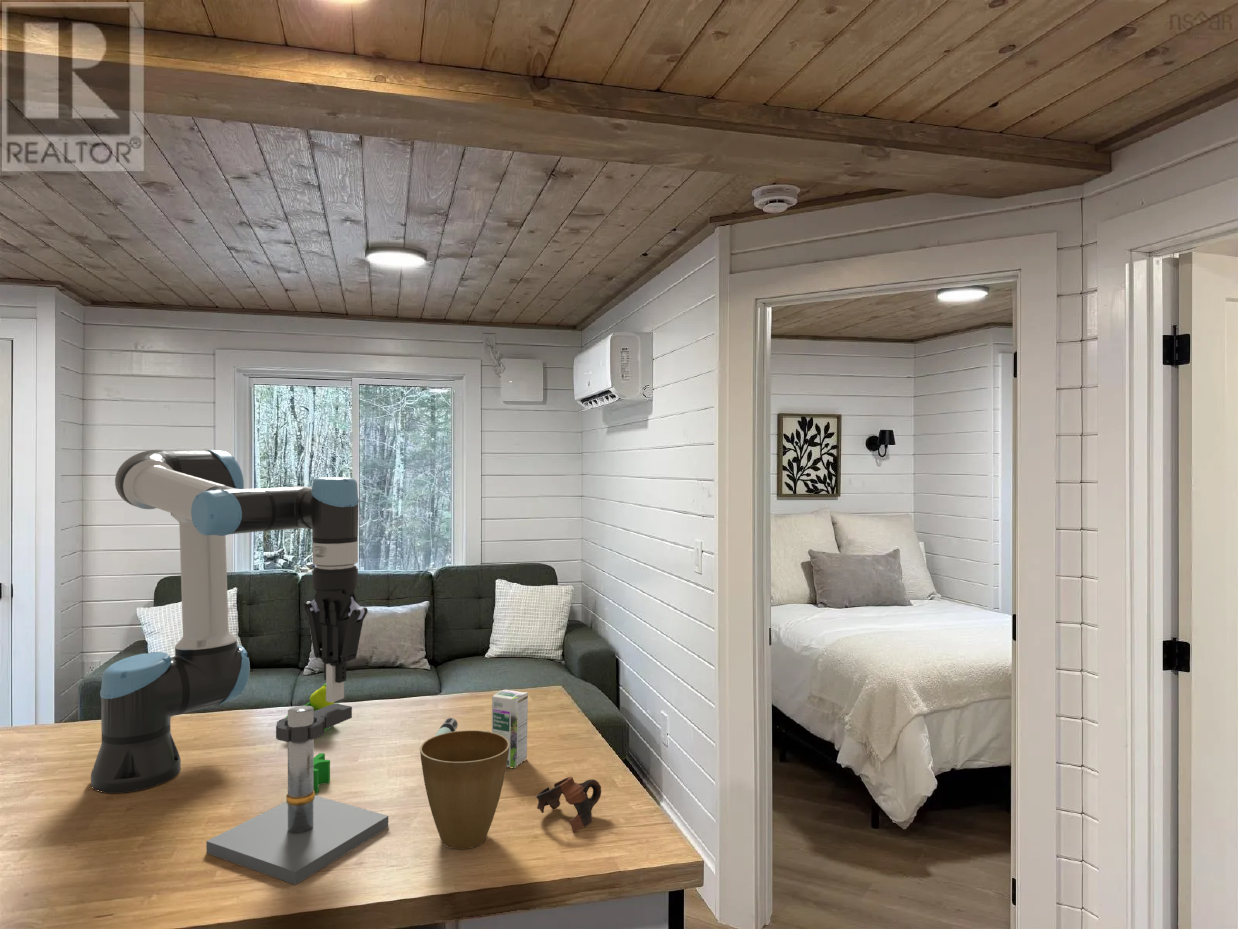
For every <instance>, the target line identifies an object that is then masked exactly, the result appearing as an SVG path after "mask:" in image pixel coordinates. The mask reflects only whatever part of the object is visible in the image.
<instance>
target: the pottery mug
mask: <svg viewBox="0 0 1238 929" xmlns="http://www.w3.org/2000/svg"><path fill="white" fill-rule="evenodd" d="M553 786H554V787H553V788H551V789H550V787H546V788H544V789H543V790H541V791H540V792H539V793H537V795H536V796H535V797H536V799H537V801H538V802H537V803H538V804H537V806H536V808H537V810H540V812H541V813H542V814H543V813H544V812H545V811H544V810H545V807H547V806H549V807H550V808H551V810H553V809H556V810H557V809H558V807H560V805H561V802H560V798H561V796H562V795H563V796H564V799H565V802H566V803H567V804H569V805H571V806H572V805H573V806H574V809H575V810H576V813H577V814H576V815H575V816H573V817H572V818H570V819H569V820H568V823H569V824H570V827H571V830H572V832H573V833H577V832H578V831H580V830H581V829H583V828H586V826H588V825H589V824H591V823H592V822H593V817H592V816H593V814H592V810H593V808H594V806H595V805H596V804H597V803H598V802H599V800H600V798H601V795H602V786H601V785H600V783H599V782H598V781H597V780H596V779H592V778H591V779H588V780H585V781H584V782H581V783H578V782H575V780H574V777H573V776H567V777H565V778H563V779H561V780H559V781H558V782H555V783H554V784H553ZM590 788H592V794H591V797H589V796H588V792H589V790H590Z"/></svg>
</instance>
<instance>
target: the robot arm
mask: <svg viewBox="0 0 1238 929" xmlns="http://www.w3.org/2000/svg"><path fill="white" fill-rule="evenodd" d="M114 483H115V484H114V486H115V489H116V491H117V492H116V493H117V494H118V496H120V498H121V499H122V500H123V501H124V502H126V503H127V504H129V505H131V506H133V507H136V508H138V509H141V510H142V509H143V510H155V509H157V510H158V509H159V510H161V511H164V512H167V513H169V514H170V516H172V518H173V519H175V521H177V522H178V523H179V526H178V527H179V528H178V529H179V552H180V581H181V582H180V583H181V585H180V586H181V588H180V590H181V615H182V616H181V617H182V619H181V620H182V621H181V622H182V638H181V639H180V640H179V641H177V643H175V645H174V653H175V654H174V656H172V657H171V656H170V654H169V653H167V652H163V651H153V652H149V653H139V654H136V655H132V656H128V657H125V658H122V659H120V660H117V661H115V662H114V663H112V664H111V665H109V666H108V667H107V668H105V670H104V671H103V673H102V676H101V687H100V690H99V694H100V704H101V705H100V708H101V710H100V712H101V713H100V715H101V716H100V717H101V718H100V719H101V725H100V726H101V727H100V728H101V730H100V731H101V742H100V743H101V744H100V747H99V750H98V752H97V755H96V758H95V762H94V764H93V768H92V769H91V770H92V771H91V773H90V787H91V788H92V787H93V788H94V789H95V790H94V789H93V788H92V789H93V790H94V791H96V790H99V791H102V792H101V793H104V792H106V793H107V794H121V793H123V794H124V793H130V792H137V791H142V790H146V789H151V788H153V787H156V786H158V785H161V784H165V783H166V782H168V781H171V780H172V779H174V778H175V777H176V776H178V775H179V773H180V772H181V767H182V766H181V761H182V760H181V756H180V752H179V751H178V748H177V746H176V742H175V740H174V737H173V735H172V732H171V731H172V730H171V729H172V728H171V718H172V717H176V716H178V715H182V714H183V715H184V714H186V713H190V712H191V713H192V712H194V711H198V710H202V709H206V708H210V707H218V706H220V705H223V704H225V703H228V702H231V701H234V700H236V699H237V698H238V697H240V696H241V695H242V694H243V692H244V691H245V689H246V687H247V685H248V682H249V680H250V679H249V678H250V672H251V667H250V666H251V665H250V658H249V656H248V652H247V650H246V649H245V647H244V646H243V645H241V644H238V643H237V642H238V638H237V637H236V636H234V634H232V633H231V632H230V630H229V601H228V600H229V599H228V572H227V570H228V569H227V545H226V544H227V542H226V540H227V539H226V536H230V535H237V534H244V533H245V534H247V533H248V534H249V533H255V532H257V533H259V532H270V531H282V530H292V529H294V530H295V529H306V530H311V531H312V533H311V534H312V536H311V537H312V564H313V565H314V566H315V567H313V568H312V570H311V573H312V574H311V576H312V579H311V582H312V583H311V584H312V585H311V586H312V589H314V590H315V593H314V596H313V600H311V601H309V602H305V603H304V604H303V610H304V612H305V614H306V617H307V620H308V625H309V633H310V637H311V643H312V649H313V656H314V658H316V659H320V660H321V661H322V663H323V679H324V681H325V684H326V701H328V702H334V703H336V702H337V701H339V700H342V699H345V682H346V680H347V664H348V662H351V661H353V660H355V659H357V656H358V655H357V654H358V649H359V644H360V639H361V634H362V629H363V624H364V620H365V619H366V616H367V614H368V612H369V610H368V608H367V607H366V606H363V607H362V606H360V605H359V604H358V603H357V602H358V601H357V596H356V593H355V591H356V588H357V586H358V584H359V568H358V566H357V565H356V564H357V563H358V562H359V549H358V548H359V545H358V544H359V538H358V536H359V535H358V534H359V504H360V498H359V492H358V482H357V480H356V479H355V478H354V477H347V476H346V477H343V476H342V477H341V476H340V477H339V476H334V477H333V476H330V477H327V476H324V477H322V476H321V477H316V478H315V479H313V481H312V485H311V487H310V486H303V485H287V486H281V487H264V488H263V487H261V488H245V486H244V485H245V482H244V476H243V471H242V469H241V466H240V464H239V462H238V461H237V460H236V458H235V457H234V456H233V455H232V454H231V453H229V452H228V451H225V450H217V449H206V448H205V449H152V450H145V451H142V452H141V451H140V452H139V453H135V454H134V455H132V456H130V457H129V458H127V459H126V460H125V461H124V462H122V464H121V465H120V466H119V468H118V469H117V471H116V474H115V479H114ZM99 791H98V792H99Z"/></svg>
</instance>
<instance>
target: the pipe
mask: <svg viewBox="0 0 1238 929" xmlns="http://www.w3.org/2000/svg"><path fill="white" fill-rule="evenodd" d="M287 716H288V726H289V727H303V726H308V725H311V724H313V723H314V708H313V707H311V706H304V705H298V706H294V707H291V708H289V709H288V710H287ZM314 740H315V738H314V739H312V740H310V739H308V741H300V742H291V741H290V742H287V794H286V798H285V799H286V801H285V802H287V804H288V832H289V833H292V834H301V833H305V832H308V831H310V830H311V829H312V828H313V800H314V799H315V795H316V793H315V791H314V790H313V782H314V757H315V756H314V751H315V750H314V746H315V745H314V744H315V743H314Z"/></svg>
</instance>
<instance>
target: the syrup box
mask: <svg viewBox="0 0 1238 929" xmlns="http://www.w3.org/2000/svg"><path fill="white" fill-rule="evenodd" d="M528 701H529V692H525V691H524V692H523V691H516V690H510V689H503V690H500V691H498V692H497V693H495V694H494V695H493V696H492V698H491V732H493V733H497V734H499V735H502V736H504V737H505V738H507V739H508V741H509V742H510V747H509V754H508V760H507V766H506V768H508V767H513V768H515V767H516V766H517V765H519V764H520V763H521V762H522V761H524V760H525V759H526V758H527V759H528V722H529V721H528V720H529V719H528V714H529V713H528V712H529V710H528V709H529V707H528V706H529V705H528V704H529V702H528ZM527 759H526V760H527ZM526 760H525V761H526ZM525 761H524V762H525ZM521 764H522V763H521ZM521 764H520V765H521ZM520 765H519V766H520ZM517 767H518V766H517ZM517 767H516V768H517ZM516 768H515V769H516Z"/></svg>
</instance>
